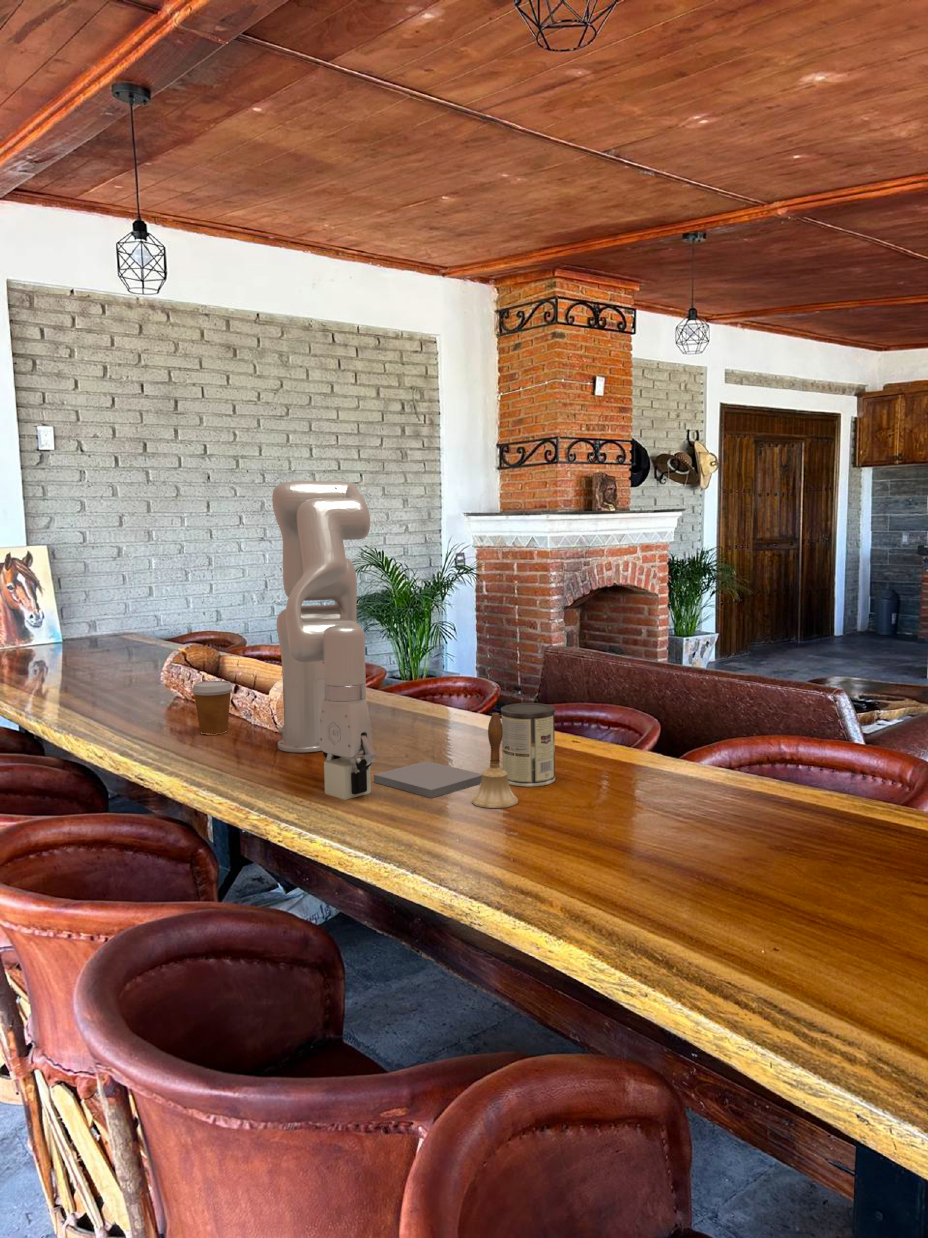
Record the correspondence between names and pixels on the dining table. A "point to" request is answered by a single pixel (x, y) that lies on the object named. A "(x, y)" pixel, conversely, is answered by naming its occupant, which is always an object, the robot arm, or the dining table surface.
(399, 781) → the slate board
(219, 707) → the disposable coffee cup
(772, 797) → the dining table surface
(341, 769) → the cube
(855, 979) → the dining table surface
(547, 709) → the coffee can
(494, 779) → the hand bell
